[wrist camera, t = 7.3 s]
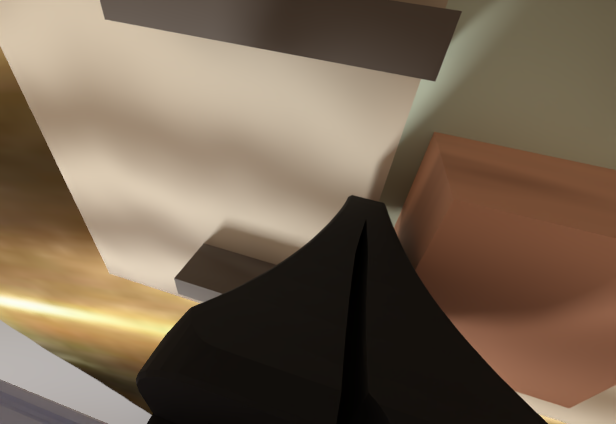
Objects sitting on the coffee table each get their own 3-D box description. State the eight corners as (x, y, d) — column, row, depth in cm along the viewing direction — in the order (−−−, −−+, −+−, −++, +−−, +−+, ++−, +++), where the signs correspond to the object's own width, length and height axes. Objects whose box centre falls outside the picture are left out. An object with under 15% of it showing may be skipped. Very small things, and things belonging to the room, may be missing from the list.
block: (523, 300, 12) (568, 408, 8) (380, 260, 12) (373, 345, 9) (648, 177, 8) (812, 285, 5) (434, 131, 9) (453, 199, 6)
